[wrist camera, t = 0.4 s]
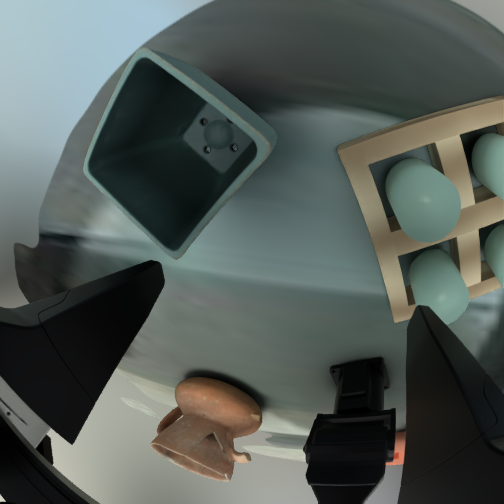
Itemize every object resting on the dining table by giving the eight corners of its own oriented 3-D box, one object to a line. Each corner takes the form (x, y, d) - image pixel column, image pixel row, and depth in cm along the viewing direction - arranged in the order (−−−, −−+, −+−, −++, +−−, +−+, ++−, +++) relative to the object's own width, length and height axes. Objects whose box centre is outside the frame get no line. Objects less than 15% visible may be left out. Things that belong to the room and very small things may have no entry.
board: (521, 258, 16) (533, 272, 14) (392, 304, 23) (394, 322, 21) (500, 95, 11) (516, 96, 9) (337, 145, 18) (337, 151, 16)
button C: (444, 205, 15) (465, 231, 12) (395, 222, 17) (405, 251, 14) (429, 150, 14) (452, 163, 10) (377, 168, 16) (386, 185, 12)
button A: (455, 284, 17) (469, 317, 14) (412, 297, 19) (420, 332, 16) (450, 242, 16) (468, 272, 13) (404, 257, 18) (414, 290, 15)
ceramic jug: (254, 369, 33) (212, 463, 22) (286, 419, 39) (260, 492, 27) (160, 362, 42) (115, 426, 30) (200, 408, 47) (169, 465, 35)
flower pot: (302, 130, 18) (276, 148, 11) (230, 207, 23) (175, 264, 15) (214, 59, 17) (138, 43, 9) (157, 142, 22) (80, 170, 14)
